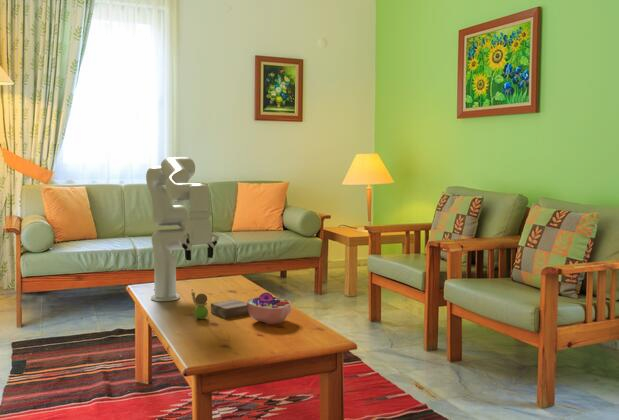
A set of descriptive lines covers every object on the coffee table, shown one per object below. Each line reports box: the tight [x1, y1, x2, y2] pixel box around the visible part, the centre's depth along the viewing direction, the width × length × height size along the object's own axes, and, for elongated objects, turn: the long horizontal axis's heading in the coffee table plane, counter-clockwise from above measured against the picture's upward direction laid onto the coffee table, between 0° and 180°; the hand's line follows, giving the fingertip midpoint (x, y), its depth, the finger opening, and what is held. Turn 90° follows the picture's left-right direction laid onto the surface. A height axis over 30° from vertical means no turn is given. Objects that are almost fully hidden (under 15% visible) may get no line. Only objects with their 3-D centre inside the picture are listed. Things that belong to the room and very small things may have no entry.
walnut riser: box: [210, 299, 250, 320], centre depth 260 cm, size 12×12×4 cm
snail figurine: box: [191, 289, 209, 320], centre depth 250 cm, size 5×6×12 cm
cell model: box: [245, 292, 292, 325], centre depth 246 cm, size 17×20×11 cm
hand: (199, 258), depth 249 cm, fingers open, 9 cm apart
